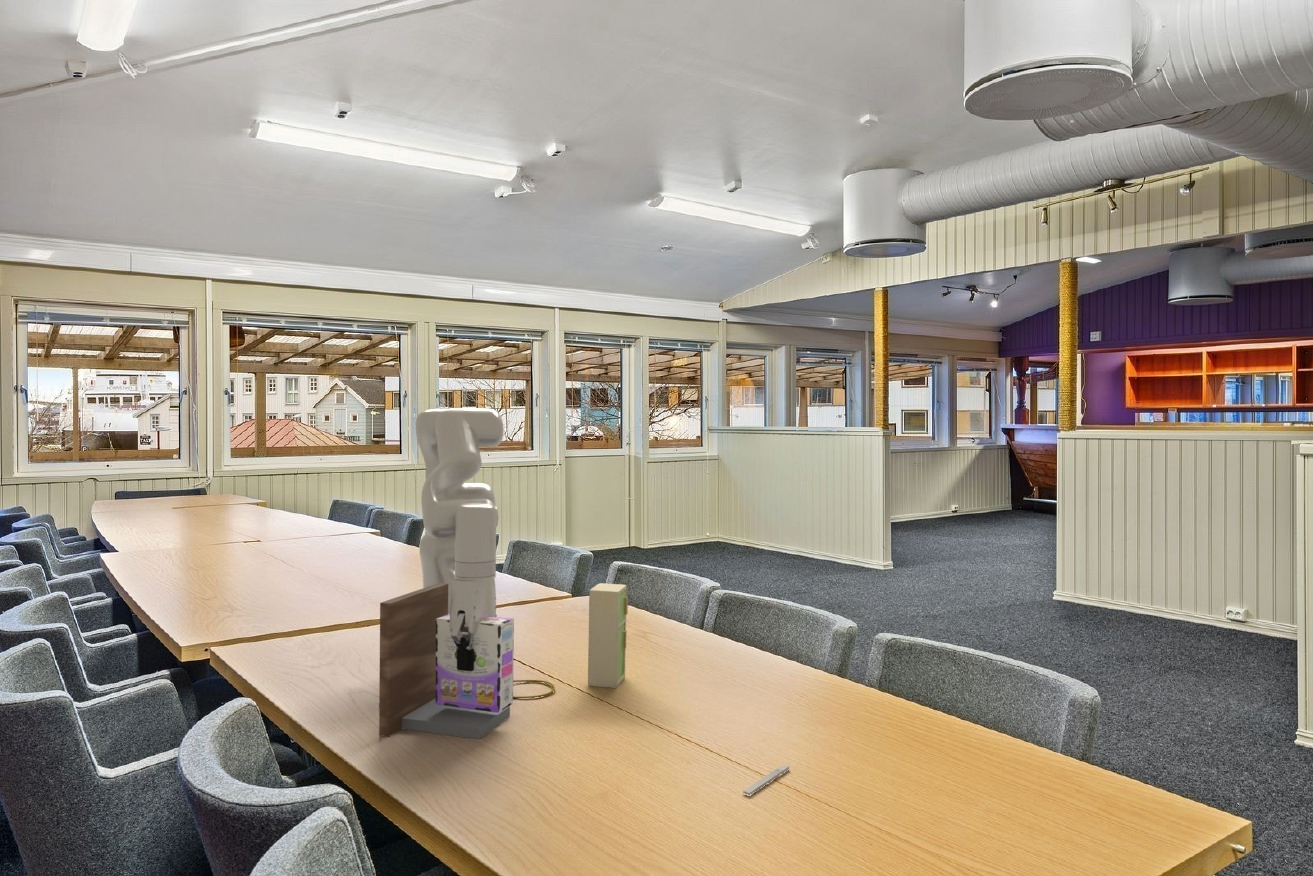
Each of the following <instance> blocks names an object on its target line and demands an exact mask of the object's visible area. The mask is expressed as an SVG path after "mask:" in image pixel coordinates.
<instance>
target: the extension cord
mask: <svg viewBox="0 0 1313 876" xmlns="http://www.w3.org/2000/svg"><path fill="white" fill-rule="evenodd" d="M521 682H544V683H545V684H547V685H549V686H550V688H551V687H552V688H553V689H552V688H551V689H552V690H551V691H549V692H547V693H542V694H538V695H529V696H527V695H526V696H514V695H513V698H535V697H541V696H546V697H548V696H547V695H549V696H551V695H553V694H554V693H553V691H555V692H556V687H555V684H553V683H551V682H549V681H546V680H540V679H516V680H514V679H513V685H514V684H518V683H521ZM545 684H544V685H545ZM518 685H519V684H518ZM547 685H546V686H547ZM514 686H515V685H514ZM549 686H548V687H549ZM552 693H553V694H552ZM550 694H551V695H550Z"/></svg>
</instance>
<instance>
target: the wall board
mask: <svg viewBox="0 0 1313 876" xmlns="http://www.w3.org/2000/svg"><path fill="white" fill-rule="evenodd" d="M447 614H448V583H438V584H435V585H432V586H429V587H426V588H423V587H422V588H420V589H418V590H414V591H411V592H408V593H406V594H405V593H404V594H402V595H400V596H396V597H394V598H391V599H390V598H389V599H388V600H385V601H382V602H379V685H378V687H379V698H378V699H379V703H378V704H379V705H378V706H379V708H378V712H379V713H378V717H379V719H378V723H379V724H378V736H381V737H390V736H393V735H394V734H396V733H397V732H399V731H401V730H403V729H402V718H403V717H404V716H406V715H408V714H409V713H411V712H413V711H415V710H416V709H418V708H420V707H421V706H423V705H425V704H426V703H428V702H430V701H432V700H433V699H435V698H436V619H437V618H440V617H442V616H445V615H447Z"/></svg>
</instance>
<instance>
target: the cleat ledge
mask: <svg viewBox="0 0 1313 876" xmlns="http://www.w3.org/2000/svg"><path fill="white" fill-rule="evenodd" d="M435 701H436V698H435V699H433V700H432V701H430V702H428V703H426V704H425V705H423V706H421V707H420V708H418V709H416V710H415V711H413V712H411V713H409V714H408V715H406V716H404V717H403V718H402V729H401V730H408V731H415V732H416V731H417V732H424V733H429V734H430V733H431V734H437V735H439V734H440V735H445V736H446V735H447V736H453V737H454V736H455V737H460V738H468V737H469V739H477V740H480V739H482V738H483V737H484V736H486V735H487V734H488V733H490V732H491V731H492V730H493V728H494V729H495V728H496V727H497V725H498V726H499V725H500V724H502V723H503V722H504V721H506V720H507V719H508V718H510V717H511V705H510V706H509V707H507V708H505V709H504V710H502V711H501V712H499V713H497V712H488V711H480V710H473V709H465V708H458V707H451V706H442V705H436V704H435ZM509 716H510V717H509ZM505 719H506V720H505ZM481 737H482V738H481Z"/></svg>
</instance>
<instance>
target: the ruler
mask: <svg viewBox="0 0 1313 876" xmlns="http://www.w3.org/2000/svg"><path fill="white" fill-rule="evenodd" d="M788 769H789V770H790V766H789V765H786V764H782V765H780V766H779V767H777V768H776V769H774V770H772V771H771V772H770V773H768V774H767V775H765V776H764V777H762V778H760V779H759V780H758V781H756V782H755V783H753V784H752V785H750V786H748V787H747V788H745V789H744V790H743V791H742V794H743V793H745V794H748V795H750V794H752V793H753V792H755V791H757V790H758V789H760V788H761V787H763V786H764V785H766V784H767V783H770V782H771V781H772V780H773V779H774V778H777V777H778V776H779V775H780V774H783V773H784V772H785V771H787V770H788ZM787 772H788V771H787ZM783 775H784V774H783ZM777 779H778V778H777ZM771 783H772V782H771ZM771 783H770V784H771Z"/></svg>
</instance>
